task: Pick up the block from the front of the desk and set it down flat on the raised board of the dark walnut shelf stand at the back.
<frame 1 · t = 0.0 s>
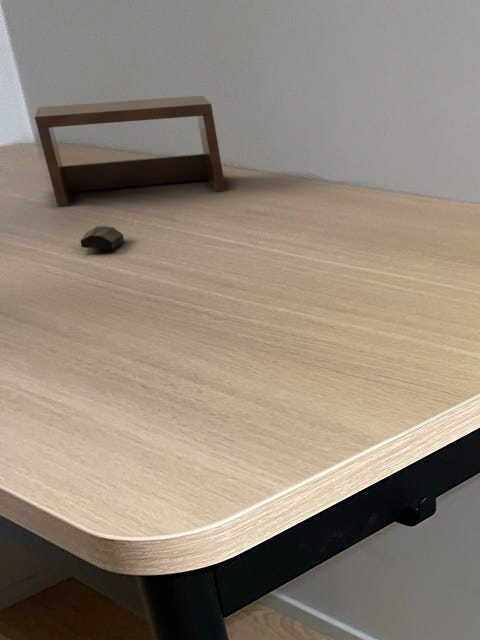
shelf: (141, 191, 125), on the table
block: (104, 249, 101), on the table
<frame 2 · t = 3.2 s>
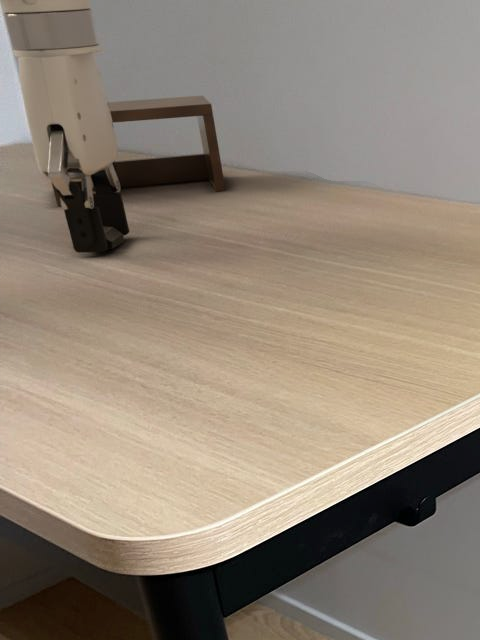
hand: (102, 241, 100), 1 cm above the table, tool pointing down, fingers closed on block, 6 cm apart
block: (105, 249, 101), on the table, touching gripper
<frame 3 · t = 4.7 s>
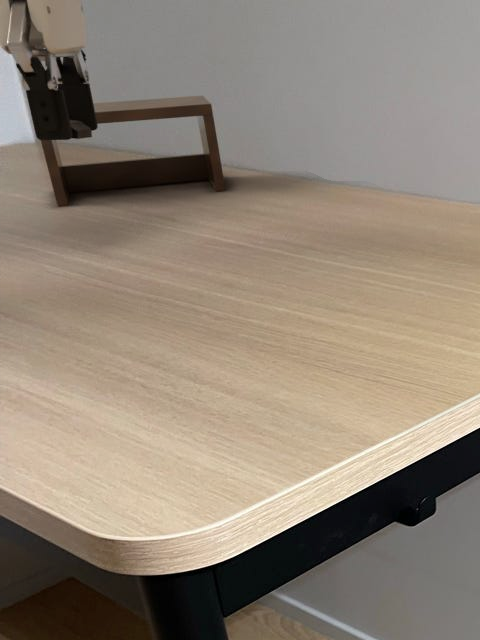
hand: (68, 132, 94), 11 cm above the table, tool pointing down, fingers closed on block, 6 cm apart
block: (70, 142, 95), point 10 cm above the table, touching gripper
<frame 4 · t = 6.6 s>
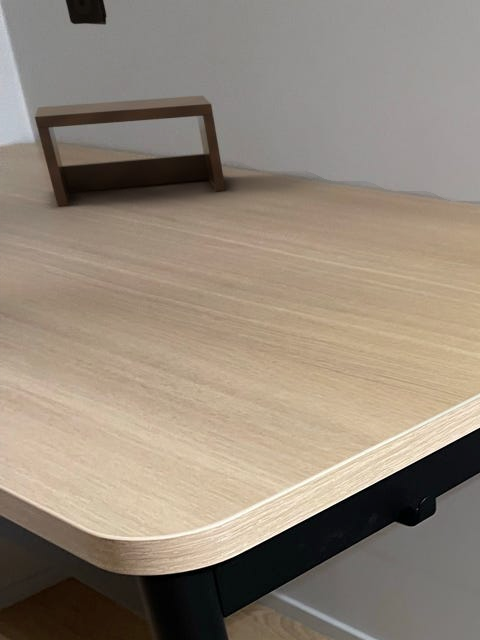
hand: (89, 19, 106), 19 cm above the table, tool pointing down, fingers closed on block, 6 cm apart
block: (92, 28, 106), point 18 cm above the table, touching gripper
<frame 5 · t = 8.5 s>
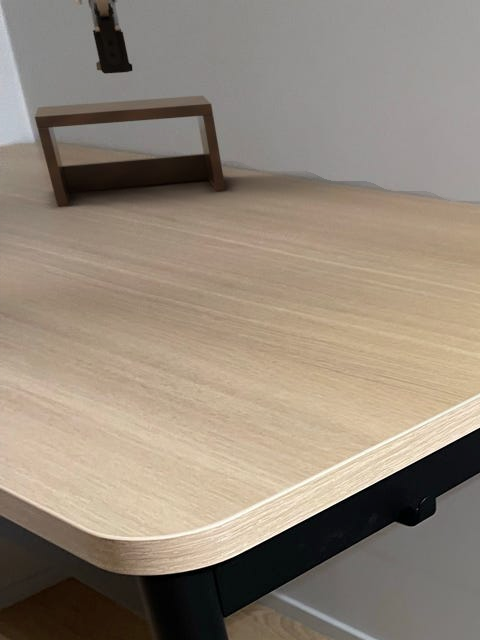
hand: (115, 68, 118), 13 cm above the table, tool pointing down, fingers closed on block, 6 cm apart
block: (117, 76, 118), point 13 cm above the table, touching gripper
when the fingers open (10 cm above the table, at t = 9.9 s): block stays where it is, resting on shelf.
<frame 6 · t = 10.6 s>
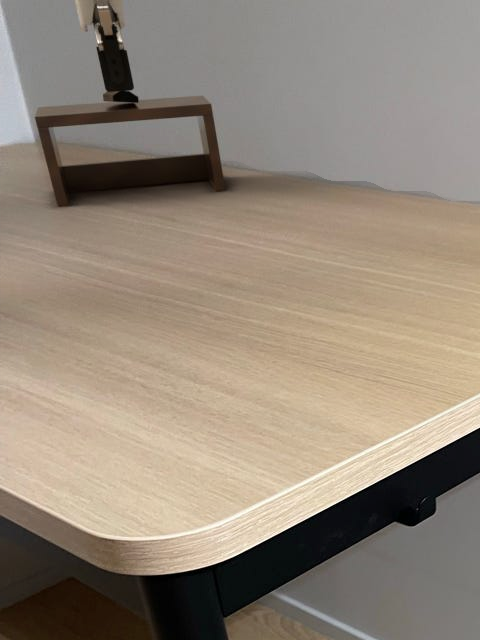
hand: (119, 87, 119), 12 cm above the table, tool pointing down, fingers open, 9 cm apart
block: (123, 107, 120), point 9 cm above the table, touching shelf
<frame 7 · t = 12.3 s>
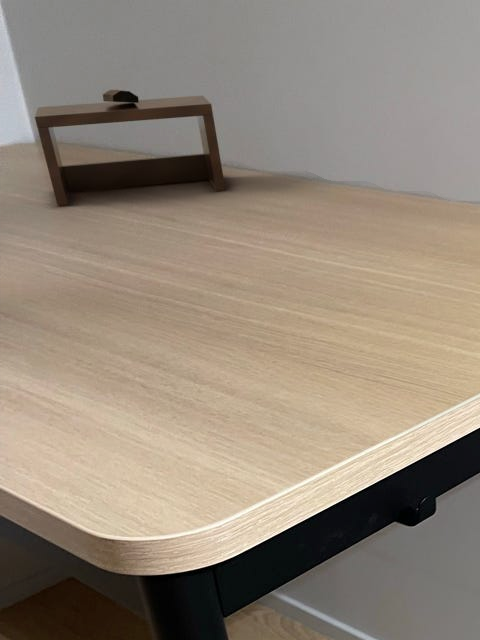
nothing on the table moved.
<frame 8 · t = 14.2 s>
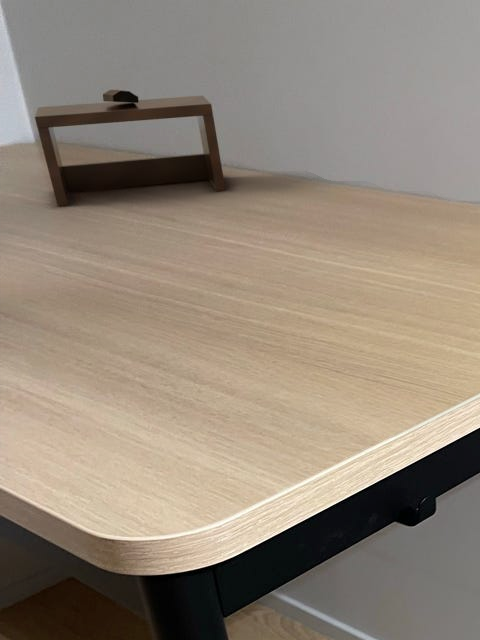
nothing on the table moved.
at the end: block inside the target area on the shelf (0.0 cm from its centre), point 9.4 cm above the shelf's base; the gripper is holding nothing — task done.
